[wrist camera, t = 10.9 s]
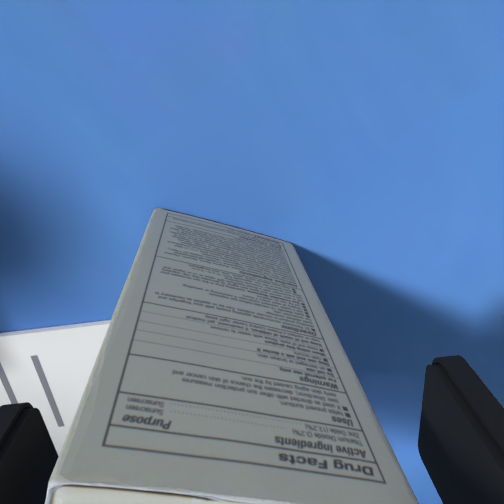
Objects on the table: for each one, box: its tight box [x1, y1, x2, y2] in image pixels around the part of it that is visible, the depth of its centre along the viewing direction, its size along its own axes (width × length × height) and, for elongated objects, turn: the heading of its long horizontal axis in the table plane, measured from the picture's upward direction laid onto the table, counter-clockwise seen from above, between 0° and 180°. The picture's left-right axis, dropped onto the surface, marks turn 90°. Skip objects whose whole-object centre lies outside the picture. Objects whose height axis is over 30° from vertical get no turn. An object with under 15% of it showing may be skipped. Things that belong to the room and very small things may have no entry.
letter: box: [0, 320, 111, 456], centre depth 20 cm, size 14×10×1 cm
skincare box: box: [45, 208, 419, 504], centre depth 12 cm, size 6×4×12 cm
